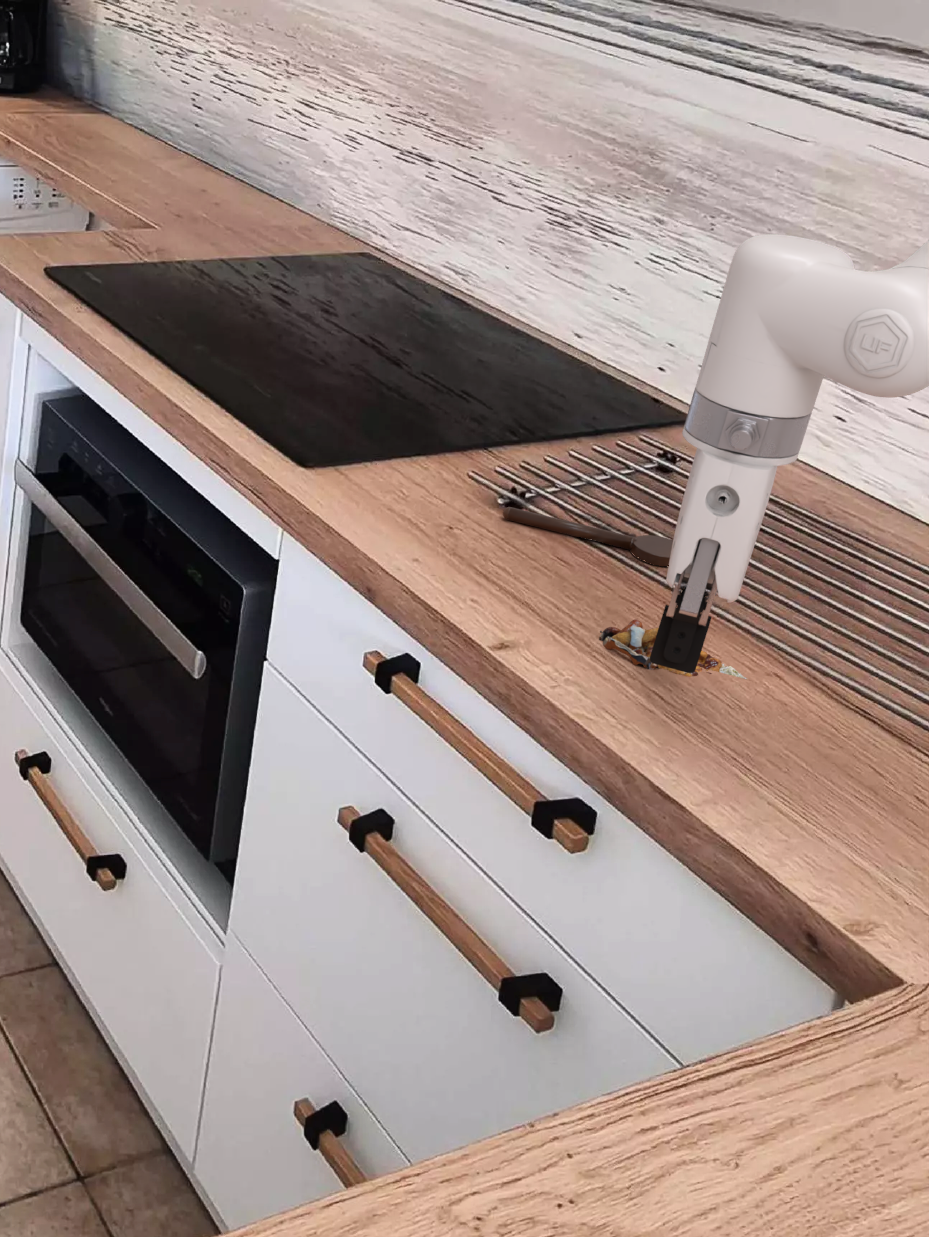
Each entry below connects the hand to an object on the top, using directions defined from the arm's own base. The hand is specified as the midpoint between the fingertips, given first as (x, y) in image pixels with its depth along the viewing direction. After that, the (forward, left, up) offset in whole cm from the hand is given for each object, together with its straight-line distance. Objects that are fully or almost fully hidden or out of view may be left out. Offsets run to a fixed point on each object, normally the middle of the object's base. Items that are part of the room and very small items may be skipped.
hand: (672, 663), depth 122 cm
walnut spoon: (+9, -31, -4) cm, 33 cm away
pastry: (0, -7, -5) cm, 8 cm away
